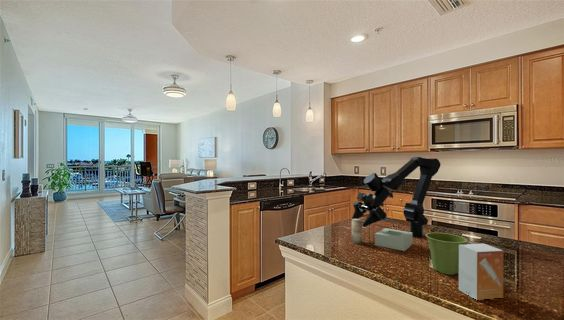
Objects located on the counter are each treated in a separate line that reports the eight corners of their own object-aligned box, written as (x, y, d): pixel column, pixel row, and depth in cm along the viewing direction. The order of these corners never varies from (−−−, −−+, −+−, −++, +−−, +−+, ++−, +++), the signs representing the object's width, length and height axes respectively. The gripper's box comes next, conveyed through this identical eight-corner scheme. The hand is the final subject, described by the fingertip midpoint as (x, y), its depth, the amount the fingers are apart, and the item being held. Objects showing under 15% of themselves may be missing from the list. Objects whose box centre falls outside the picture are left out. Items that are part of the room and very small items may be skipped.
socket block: (384, 238, 124) (384, 228, 124) (412, 243, 116) (412, 232, 116) (375, 245, 115) (375, 233, 115) (404, 251, 107) (404, 238, 107)
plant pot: (476, 278, 82) (476, 242, 82) (437, 278, 83) (437, 242, 83) (452, 263, 94) (452, 232, 94) (419, 263, 95) (418, 232, 95)
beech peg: (354, 239, 123) (354, 218, 123) (363, 241, 120) (363, 219, 120) (349, 242, 119) (349, 220, 119) (359, 244, 116) (359, 221, 116)
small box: (477, 301, 69) (477, 251, 69) (457, 289, 76) (457, 244, 75) (504, 299, 70) (504, 250, 70) (483, 287, 77) (483, 242, 77)
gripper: (356, 184, 130) (336, 208, 127) (380, 188, 112) (357, 216, 109) (370, 199, 132) (350, 223, 129) (396, 206, 114) (374, 233, 111)
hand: (357, 223), depth 119 cm, fingers open, 9 cm apart
